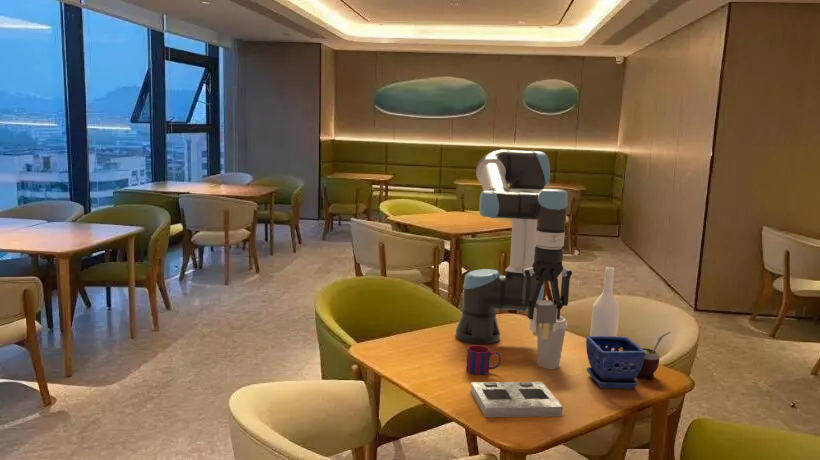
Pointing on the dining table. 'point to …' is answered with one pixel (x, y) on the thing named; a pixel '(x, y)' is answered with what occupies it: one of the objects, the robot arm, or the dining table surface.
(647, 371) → the mate gourd
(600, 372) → the flower pot
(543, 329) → the plug
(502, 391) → the socket
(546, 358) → the coffee cup
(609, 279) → the bottle
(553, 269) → the robot arm
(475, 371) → the cup
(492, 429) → the dining table surface
